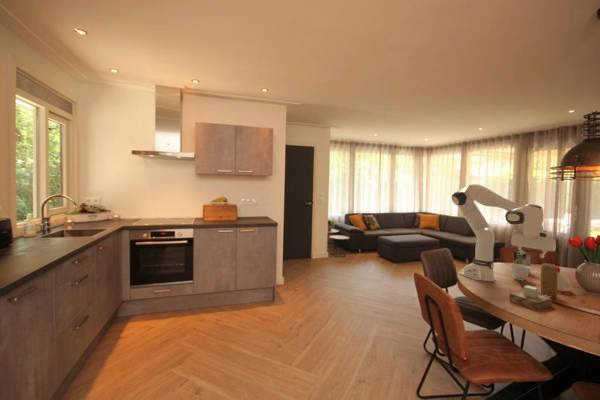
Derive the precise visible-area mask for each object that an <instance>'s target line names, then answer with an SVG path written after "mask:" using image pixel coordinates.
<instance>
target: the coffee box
mask: <svg viewBox="0 0 600 400" xmlns="http://www.w3.org/2000/svg"><path fill="white" fill-rule="evenodd" d="M531 257H532V253H531V252H526V251H524V254H520V251H519V250H515V251H513V263H514V264H521V265H526V266H529V267H531V263H532V262H531V259H532V258H531ZM530 273H531V268H530V269H529V274H530Z"/></svg>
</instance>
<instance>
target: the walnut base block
mask: <svg viewBox="0 0 600 400" xmlns="http://www.w3.org/2000/svg"><path fill="white" fill-rule="evenodd" d="M523 292H524V289H522V290H519V291H514V292H511V293H509V302H511V303H514V304H518V305H520V306H523V307H526V308H529V309H532V310H534V311H541V310H544V309H546V308H547V309H548V308H549V307H550V308H551V307H552V304H553V298H549V297H545V296H542V295H541V294H539V293H538V297H535V298H532V297H528V296H525V295H523Z"/></svg>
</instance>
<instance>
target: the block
mask: <svg viewBox="0 0 600 400" xmlns="http://www.w3.org/2000/svg"><path fill="white" fill-rule="evenodd" d="M557 267H558V266H557V265H556V264H554V263H546V262H545V263H541V269H540V295H541V294H543V295H547V296H551V297H556V298H557V296H558V293H557Z"/></svg>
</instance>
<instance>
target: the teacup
mask: <svg viewBox="0 0 600 400" xmlns="http://www.w3.org/2000/svg"><path fill="white" fill-rule="evenodd" d="M509 265H510V267H511V268H510V269H511V274H512V276H513V277H514V279H515V280H517V281H525V280H526V279H527V278H528V276H529V274H530V273H529V269H530V270H531V269H532V268H531V266H530V267H529V266H526V265H521V264H514V262H513V263H511V264H509Z"/></svg>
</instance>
